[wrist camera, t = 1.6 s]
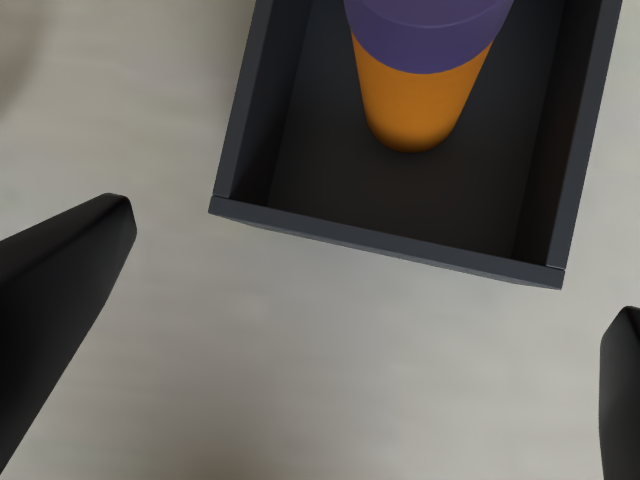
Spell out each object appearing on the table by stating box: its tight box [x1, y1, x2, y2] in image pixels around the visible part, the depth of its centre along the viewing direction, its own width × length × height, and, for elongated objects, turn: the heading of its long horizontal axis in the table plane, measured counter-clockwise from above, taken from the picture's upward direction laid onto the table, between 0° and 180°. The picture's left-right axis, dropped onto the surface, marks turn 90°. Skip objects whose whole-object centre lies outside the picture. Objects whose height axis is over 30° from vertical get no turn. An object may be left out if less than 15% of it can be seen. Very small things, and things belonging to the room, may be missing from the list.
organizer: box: [208, 0, 622, 290], centre depth 19 cm, size 12×11×6 cm
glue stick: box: [343, 0, 514, 153], centre depth 16 cm, size 4×4×12 cm
